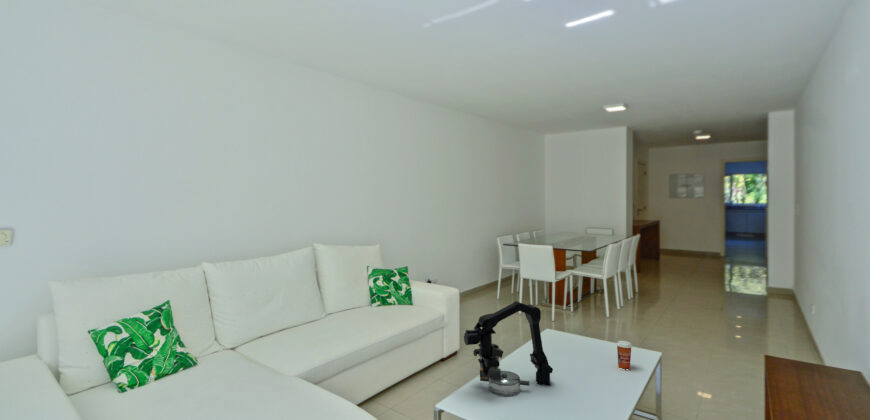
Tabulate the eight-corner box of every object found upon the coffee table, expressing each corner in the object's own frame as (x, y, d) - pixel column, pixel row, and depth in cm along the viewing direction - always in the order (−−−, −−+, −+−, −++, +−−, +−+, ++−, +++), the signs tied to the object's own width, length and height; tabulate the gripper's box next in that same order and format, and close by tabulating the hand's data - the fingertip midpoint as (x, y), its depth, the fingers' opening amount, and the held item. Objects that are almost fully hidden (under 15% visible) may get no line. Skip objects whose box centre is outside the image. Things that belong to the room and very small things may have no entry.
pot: (529, 385, 204) (529, 375, 204) (529, 399, 190) (529, 388, 190) (482, 380, 210) (482, 370, 210) (478, 393, 195) (478, 383, 195)
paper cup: (616, 369, 222) (616, 344, 221) (616, 364, 229) (616, 339, 229) (632, 372, 219) (632, 346, 218) (631, 366, 226) (631, 341, 226)
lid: (517, 372, 207) (517, 363, 207) (522, 385, 192) (522, 375, 192) (478, 372, 207) (478, 363, 207) (481, 385, 193) (481, 375, 193)
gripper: (509, 347, 191) (510, 380, 191) (493, 335, 209) (493, 366, 209) (487, 349, 188) (487, 383, 188) (472, 337, 206) (473, 369, 206)
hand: (486, 375), depth 198 cm, fingers closed
